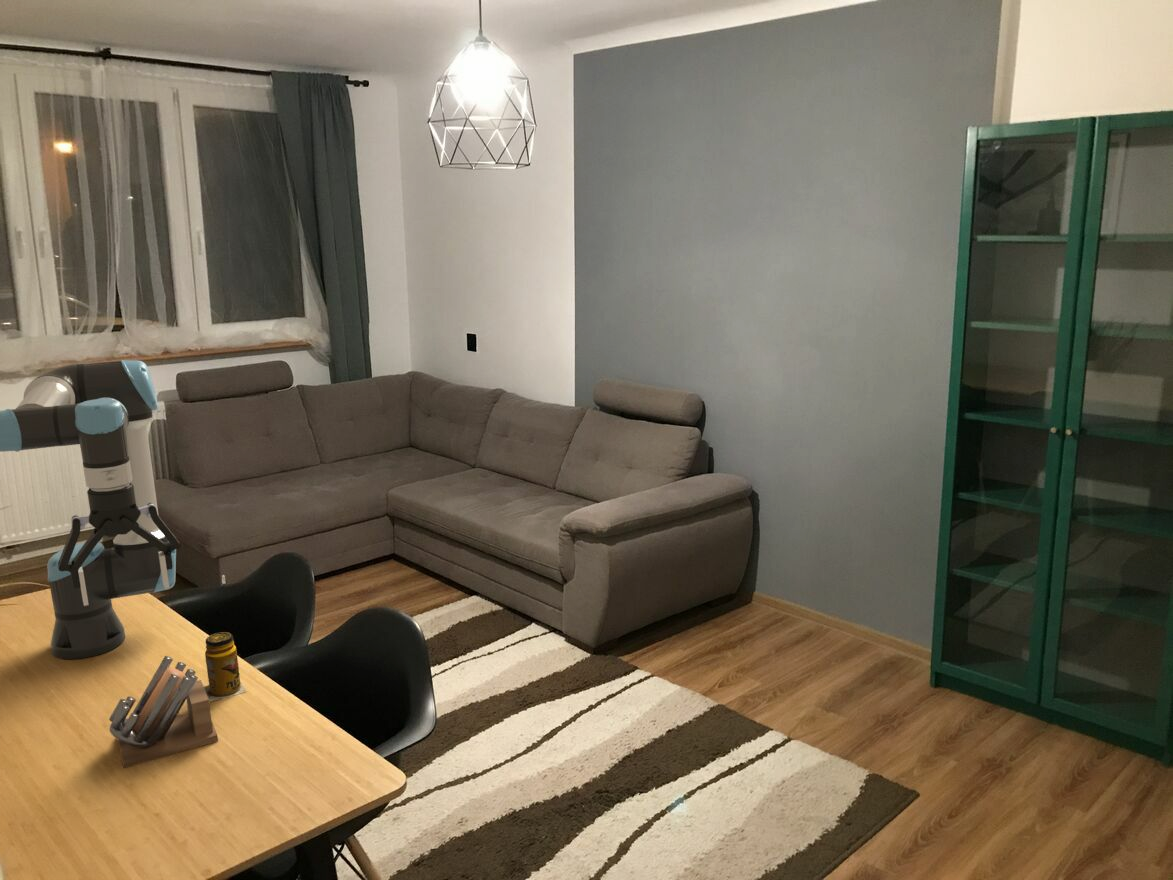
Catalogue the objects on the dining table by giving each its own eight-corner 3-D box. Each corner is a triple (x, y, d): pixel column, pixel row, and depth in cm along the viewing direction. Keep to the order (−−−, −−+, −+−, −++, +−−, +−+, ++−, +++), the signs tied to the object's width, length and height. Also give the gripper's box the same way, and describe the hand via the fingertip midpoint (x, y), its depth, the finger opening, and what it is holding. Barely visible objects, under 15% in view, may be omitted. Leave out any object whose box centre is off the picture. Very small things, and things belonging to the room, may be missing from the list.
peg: (131, 721, 174) (165, 665, 174) (151, 727, 176) (185, 672, 176) (133, 732, 170) (168, 674, 171) (154, 738, 172) (188, 681, 173)
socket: (110, 740, 175) (99, 670, 171) (199, 717, 182) (190, 648, 179) (115, 767, 166) (103, 693, 163) (208, 740, 174) (199, 669, 170)
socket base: (117, 737, 176) (111, 698, 174) (207, 712, 184) (202, 676, 182) (123, 767, 166) (117, 727, 164) (218, 740, 174) (213, 702, 172)
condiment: (246, 692, 192) (240, 638, 189) (203, 704, 187) (196, 649, 185) (237, 678, 198) (231, 626, 195) (195, 689, 193) (188, 636, 190)
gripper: (31, 503, 158) (51, 617, 164) (187, 478, 171) (201, 585, 176) (29, 492, 164) (49, 602, 170) (180, 469, 177) (194, 572, 183)
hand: (126, 594), depth 173 cm, fingers open, 13 cm apart
